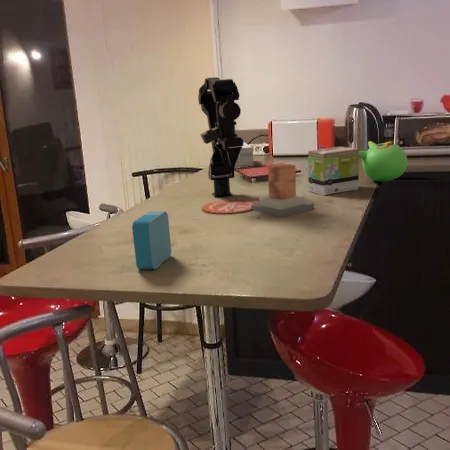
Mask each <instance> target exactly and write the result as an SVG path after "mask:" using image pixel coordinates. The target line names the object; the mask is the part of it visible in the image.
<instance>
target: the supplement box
mask: <svg viewBox="0 0 450 450" xmlns="http://www.w3.org/2000/svg"><path fill="white" fill-rule="evenodd" d="M243 145H244V146H242V148H241V151H240V153H239V156H238V159H237V161H236V164H235V169H240V168H239V167H246V168H249V167H248V166H254V152H253V147H252V146H251V145H250V144H248V143H246V142H244V141H243Z"/></svg>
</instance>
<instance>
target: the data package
mask: <svg viewBox="0 0 450 450" xmlns="http://www.w3.org/2000/svg"><path fill="white" fill-rule="evenodd" d="M131 228H132V230H131V231H132V238H133V247H134V256H135V264H136V267H137V269H138V270H151V269H154V270H155V269H156V270H157V269H158V268H159V267H160V266H161V265H163V264H164V263H165V262H166V261H168V259H169V258H170V257H171V256H172V255H171V254H172V245H171V244H172V243H171V234H170V232H171V231H170V222H169V214H168V212H167V211H166V210H165V211H164V210H163V211H162V210H160V211H157V210H156V211H153V210H152V211H151V210H149V211H148V212H146V213H144V214H143V215H141V216H140V217H138V218H137V219H135V220H133V223H132V225H131ZM165 260H166V261H165ZM164 261H165V262H164ZM163 262H164V263H163ZM162 263H163V264H162Z"/></svg>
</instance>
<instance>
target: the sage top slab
mask: <svg viewBox="0 0 450 450" xmlns="http://www.w3.org/2000/svg"><path fill="white" fill-rule="evenodd" d="M304 202H305V196H304V195H300V194H296V197H291V198H287V199H283V200H280V199H276V198H272V197H269V195H264V196H260V197H259V204H260V205H261V206H266V207H270V208H274V209H278V210H282V209H286V208H290V207H294V206H299V205H303V204H304Z"/></svg>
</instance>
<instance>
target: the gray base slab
mask: <svg viewBox="0 0 450 450" xmlns="http://www.w3.org/2000/svg"><path fill="white" fill-rule="evenodd" d="M252 209H253V210H252ZM313 209H315V203H312V202H308V201H304V204H303V205H299V206H294V207H290V208H286V209H282V210H278V209H274V208H270V207H266V206H261V205H260V203H257V204H252V205H251V210H252V211H254V212H259V213H262V214H266V215H270V216H274V217H278V218H283V217H287V216H292V215H294V214H295V215H296V214H298V213H304V212H306V211H309V210H313Z"/></svg>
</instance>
